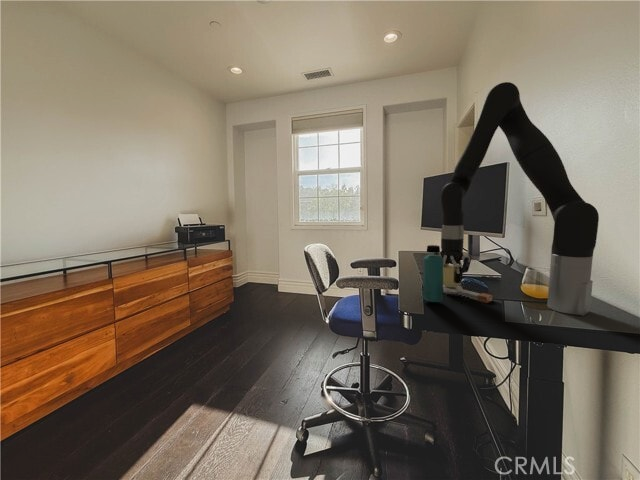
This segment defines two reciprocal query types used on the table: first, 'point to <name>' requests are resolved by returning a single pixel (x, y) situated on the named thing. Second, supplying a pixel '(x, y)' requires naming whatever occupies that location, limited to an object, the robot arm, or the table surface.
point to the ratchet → (467, 293)
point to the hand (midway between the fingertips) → (450, 281)
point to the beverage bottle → (433, 275)
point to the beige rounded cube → (450, 276)
